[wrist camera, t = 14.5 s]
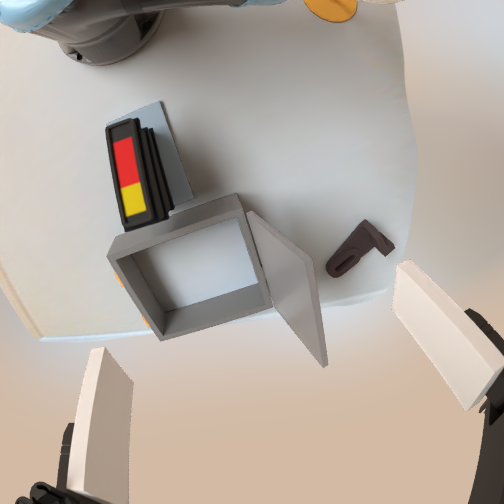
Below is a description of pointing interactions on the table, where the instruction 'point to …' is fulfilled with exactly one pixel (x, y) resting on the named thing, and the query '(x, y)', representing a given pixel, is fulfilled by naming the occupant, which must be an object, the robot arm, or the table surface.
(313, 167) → the table surface
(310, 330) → the lid
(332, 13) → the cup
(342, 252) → the bracket
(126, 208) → the magazine
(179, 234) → the case
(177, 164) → the mat
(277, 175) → the table surface
